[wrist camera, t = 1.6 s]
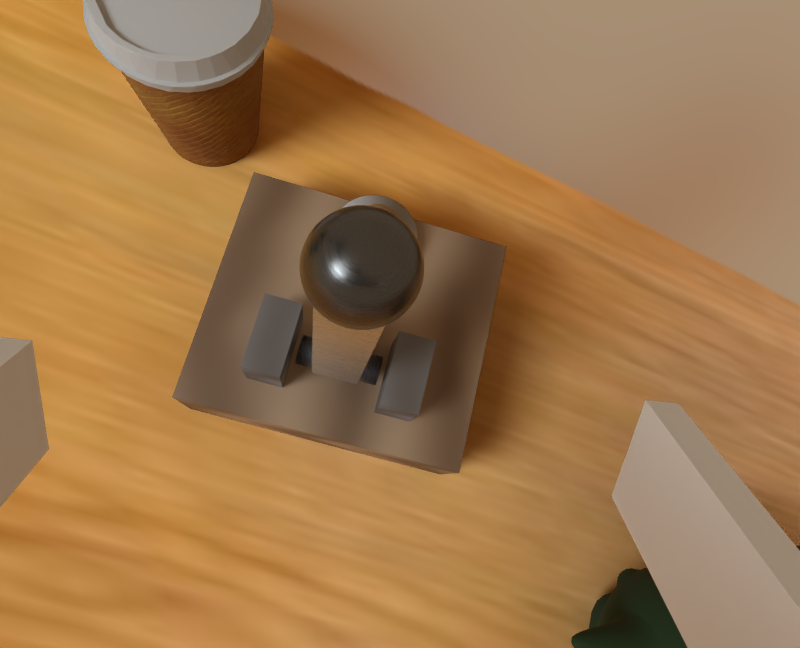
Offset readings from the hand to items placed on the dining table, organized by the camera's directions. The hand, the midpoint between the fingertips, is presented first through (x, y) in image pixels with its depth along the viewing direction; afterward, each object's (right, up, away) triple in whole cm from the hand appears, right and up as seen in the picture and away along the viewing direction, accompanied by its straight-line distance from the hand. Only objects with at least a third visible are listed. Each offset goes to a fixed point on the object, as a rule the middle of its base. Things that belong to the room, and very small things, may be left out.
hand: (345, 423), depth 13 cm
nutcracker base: (-2, +1, +26) cm, 26 cm away
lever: (-2, 0, +19) cm, 19 cm away
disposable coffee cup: (-12, +16, +28) cm, 35 cm away
